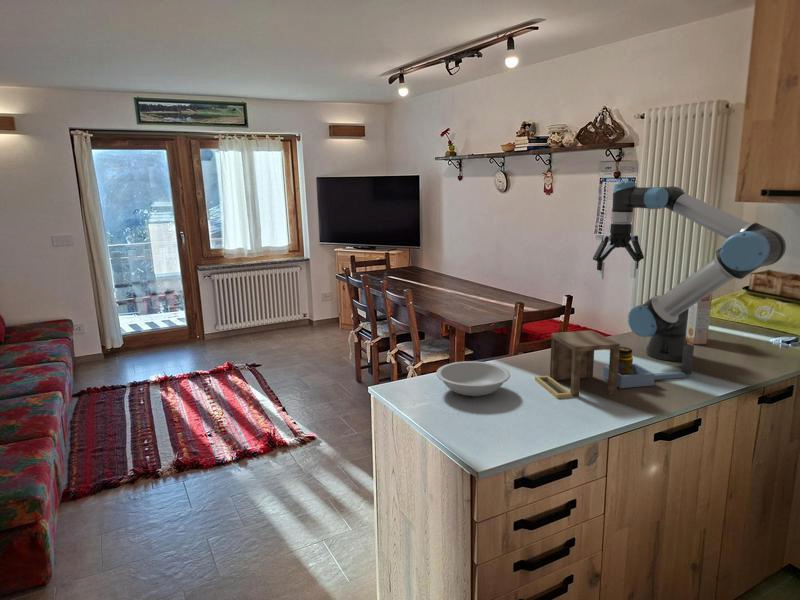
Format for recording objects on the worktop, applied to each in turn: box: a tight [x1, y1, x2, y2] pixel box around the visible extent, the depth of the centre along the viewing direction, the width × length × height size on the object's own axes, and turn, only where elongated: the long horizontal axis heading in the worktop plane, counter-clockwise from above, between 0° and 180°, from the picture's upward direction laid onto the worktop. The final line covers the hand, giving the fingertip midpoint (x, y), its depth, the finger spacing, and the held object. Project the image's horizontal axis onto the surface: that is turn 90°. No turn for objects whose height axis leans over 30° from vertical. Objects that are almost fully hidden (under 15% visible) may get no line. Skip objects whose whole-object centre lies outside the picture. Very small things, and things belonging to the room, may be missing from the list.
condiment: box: [603, 346, 634, 385], centre depth 181 cm, size 7×8×12 cm
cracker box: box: [686, 294, 713, 345], centre depth 227 cm, size 14×6×21 cm, turn 179°
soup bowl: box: [435, 360, 511, 397], centre depth 177 cm, size 24×24×7 cm
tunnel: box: [549, 329, 621, 398], centre depth 179 cm, size 15×17×16 cm
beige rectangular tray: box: [534, 375, 573, 399], centre depth 178 cm, size 5×17×1 cm, turn 10°
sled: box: [602, 343, 695, 389], centre depth 183 cm, size 30×11×11 cm, turn 100°
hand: (616, 278), depth 209 cm, fingers open, 13 cm apart
